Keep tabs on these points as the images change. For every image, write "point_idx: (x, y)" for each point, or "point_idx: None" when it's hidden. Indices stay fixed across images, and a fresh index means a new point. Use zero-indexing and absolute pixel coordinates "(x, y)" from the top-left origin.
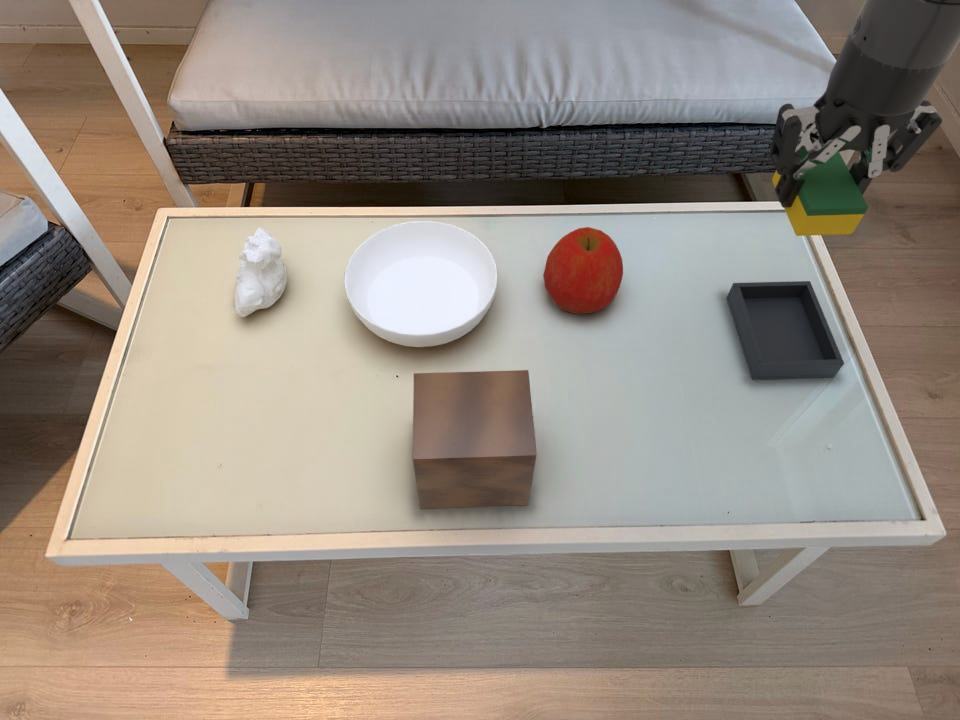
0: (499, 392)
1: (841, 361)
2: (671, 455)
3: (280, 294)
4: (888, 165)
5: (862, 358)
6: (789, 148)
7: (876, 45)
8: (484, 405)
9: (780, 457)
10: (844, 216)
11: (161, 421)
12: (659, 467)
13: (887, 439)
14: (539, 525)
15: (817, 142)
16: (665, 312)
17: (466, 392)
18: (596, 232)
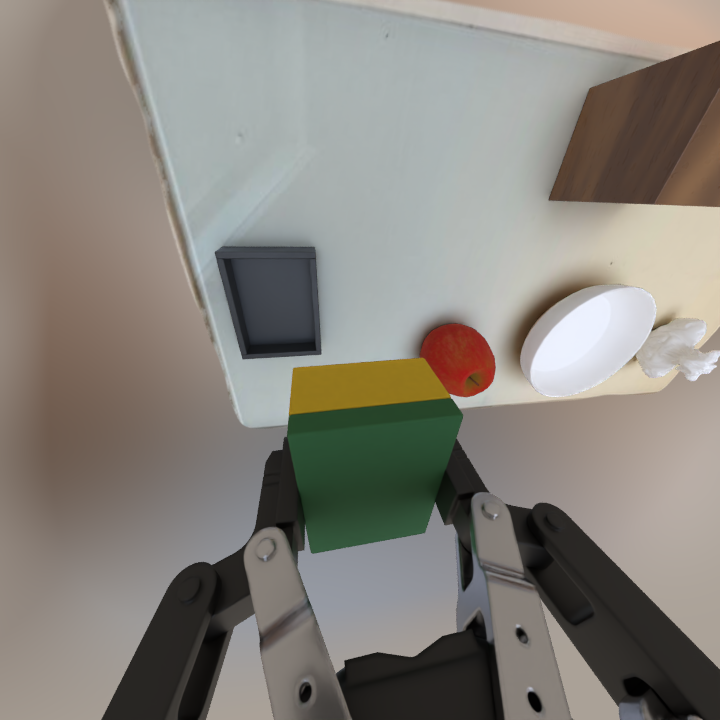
0: (705, 167)
1: (218, 254)
2: (425, 145)
3: (651, 336)
4: (220, 583)
5: (185, 271)
6: (646, 623)
7: None
8: None
9: (303, 127)
10: (346, 403)
11: None
12: (443, 128)
13: (157, 142)
14: (593, 53)
15: (477, 628)
16: (379, 327)
17: None
18: (464, 391)
